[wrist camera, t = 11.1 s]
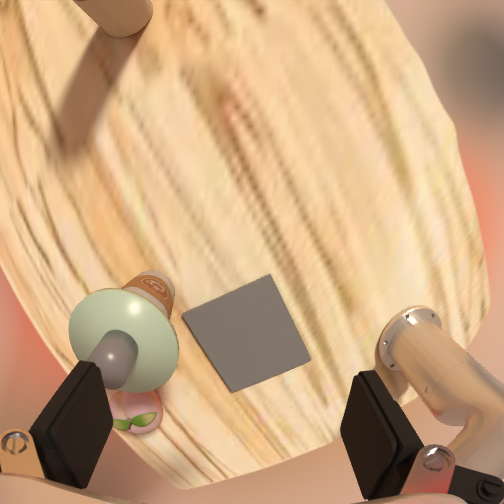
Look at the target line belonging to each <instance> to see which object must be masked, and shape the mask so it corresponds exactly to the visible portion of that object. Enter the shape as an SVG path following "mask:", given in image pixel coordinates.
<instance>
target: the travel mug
mask: <svg viewBox="0 0 504 504" xmlns="http://www.w3.org/2000/svg"><path fill="white" fill-rule="evenodd" d="M73 1H74V2H75V3H76V4H77V5H78V6H79V7H80V8H81V9H82V10H83V11H84V12H85V13H86V14H87V15H88V16H90V17H91V18H92V19H93V20H94V21H95V22H96V23H97V24H98V25H99V26H100V27H101V28H102V29H103V30H104V31H105V32H106V33H107V34H108V35H110V36H112V37H118V38H121V37H127V36H130V35H133V34H135V33H136V32H138V31H140V30H141V29H142V28H143V27H144V26H145V25H146V24H147V23H148V22H149V20H150V18H151V16H152V13H153V5H152V3H151V1H150V0H73Z"/></svg>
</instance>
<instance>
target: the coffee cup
mask: <svg viewBox="0 0 504 504" xmlns="http://www.w3.org/2000/svg"><path fill="white" fill-rule="evenodd" d="M121 289H126V290H129V291H132V292H135V293H137V294H140V295H142V296H143V297H145V298H147V299H148V300H150V301H151V302H153V303H154V304H155V305H156V306H157V307H159V308H160V309H161V310H162V312H163V313H164V314H165V315H166V316H167V318H168V319H169V318H170V315H171V311H172V306H173V301H174V297H175V290H174V286H173V284H172V282H171V281H170V279H169V278H168V277H167V276H165V275H164V274H162V273H161V272H158V271H154V270H148V271H144V272H142V273H140V274H139V275H138V276H136V277H135V278H134V279H132V280H131V281H130V282H128V283H127V284H126V285H125V286H124V287H122V288H121Z"/></svg>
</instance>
